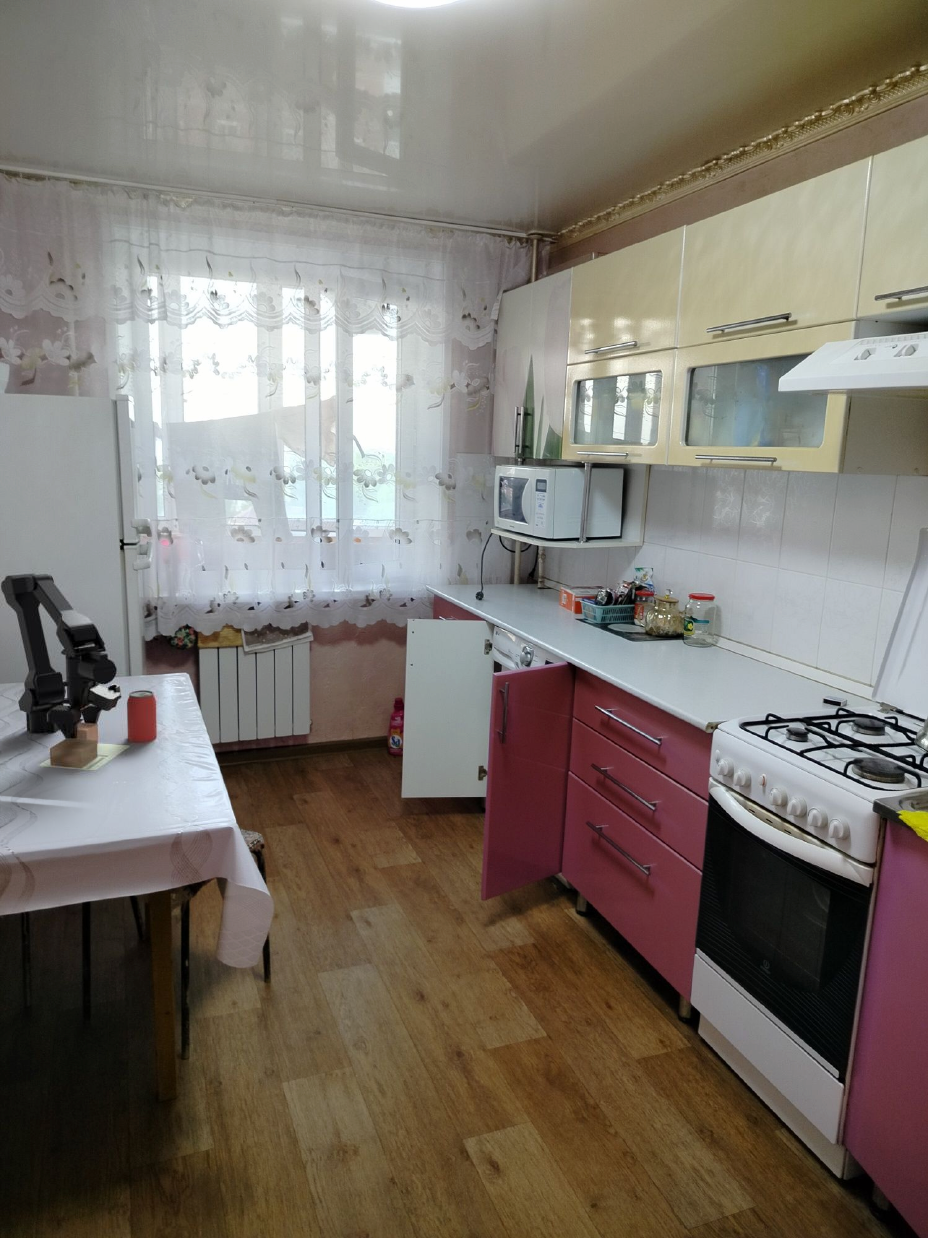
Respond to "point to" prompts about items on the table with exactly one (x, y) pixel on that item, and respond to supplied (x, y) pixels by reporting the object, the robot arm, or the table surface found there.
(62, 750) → the base block
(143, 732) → the beer can
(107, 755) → the cream mat
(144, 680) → the table surface
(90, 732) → the cube
